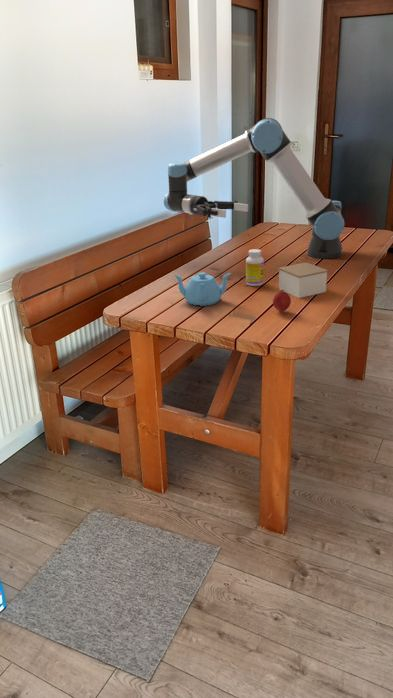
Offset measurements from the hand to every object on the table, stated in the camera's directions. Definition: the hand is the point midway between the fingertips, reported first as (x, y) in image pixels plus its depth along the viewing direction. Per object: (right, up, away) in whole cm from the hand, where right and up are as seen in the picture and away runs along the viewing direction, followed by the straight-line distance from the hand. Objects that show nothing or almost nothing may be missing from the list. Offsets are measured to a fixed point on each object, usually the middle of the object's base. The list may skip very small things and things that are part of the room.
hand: (236, 211), depth 219 cm
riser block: (+23, -31, -11) cm, 40 cm away
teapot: (-13, -36, -18) cm, 43 cm away
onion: (+13, -41, -30) cm, 52 cm away
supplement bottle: (+7, -28, -2) cm, 29 cm away
